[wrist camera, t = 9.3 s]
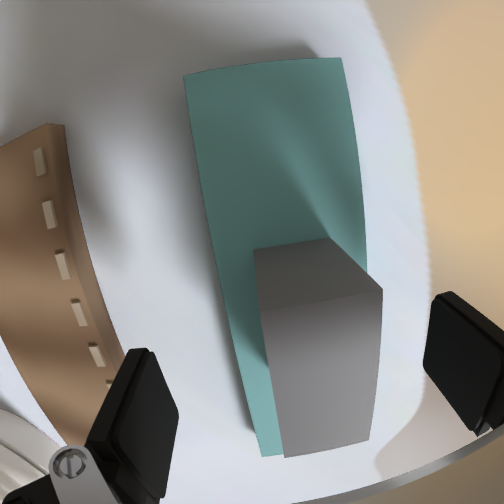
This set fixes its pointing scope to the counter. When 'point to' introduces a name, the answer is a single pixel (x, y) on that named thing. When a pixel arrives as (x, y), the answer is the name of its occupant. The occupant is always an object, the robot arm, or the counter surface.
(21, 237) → the board
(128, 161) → the counter surface
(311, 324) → the teal base with block
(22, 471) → the honey pot
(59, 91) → the counter surface
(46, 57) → the counter surface
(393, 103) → the counter surface
